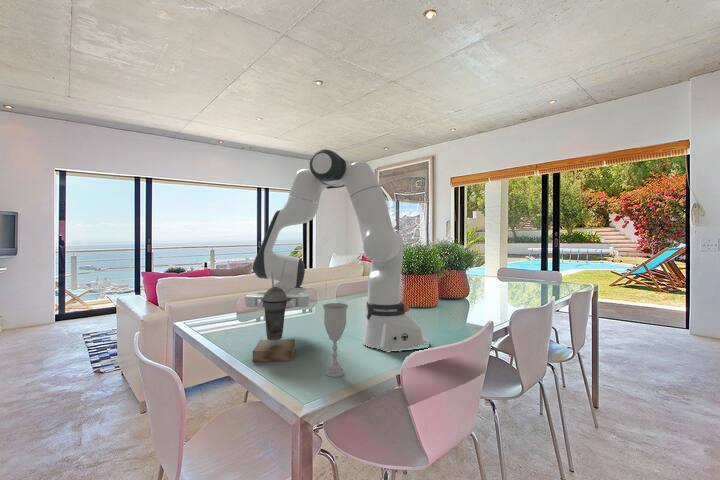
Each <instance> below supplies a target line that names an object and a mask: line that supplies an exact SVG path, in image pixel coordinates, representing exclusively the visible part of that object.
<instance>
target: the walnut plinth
mask: <svg viewBox="0 0 720 480" xmlns="http://www.w3.org/2000/svg"><path fill="white" fill-rule="evenodd" d="M295 349H296V339H295V338H286V339H284V338H281V339H279V340H268V339H259V341H258V343H257V344H256V345H255V347H254V348H253V349H252V362H291V361H292V360H293V356H294V352H295Z"/></svg>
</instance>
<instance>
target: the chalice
mask: <svg viewBox="0 0 720 480" xmlns="http://www.w3.org/2000/svg"><path fill="white" fill-rule="evenodd" d="M322 307H323V311H324V317H323V318H324V320H323V321H324V322H323V323H324V328H325V330H326V333H327V335H328V338H329V340H330V341H332V344H333V345H332V347H331V348H332V351H333V352H332V353H331V356H332V361H331V362H330V363H329V364H328V365H327V367H326V370H325V372H324V374H325V375H326V376H328V377H331V378H332V377H341V376H343V375H344V374H345V372H344V369H343V367H342V365H341V363H339V362H338V360H337V357H338V356H339V354H338V352H337V350H338V348H339V347H338V345H337V343H338V341H339V340H341V338H342V336H343V334H344V332H345V328H346V326H347V309H348V307H349V305H348V304H347V303H341V302H330V303H325V304H322Z"/></svg>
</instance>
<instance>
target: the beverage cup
mask: <svg viewBox="0 0 720 480" xmlns="http://www.w3.org/2000/svg"><path fill="white" fill-rule="evenodd" d="M271 278H272V279H271V284H272V285H271V287H270V288H269V289H267V290H266V291H265V292H264V293H265V295H264V298H263V304H264V307H263V308H264V319H265V320H264V321H265V332H266V334H265V335H266V340H279V339H283V334H284V326H285V325H284V324H285V323H284V322H285V314H286V309H285V307H286V302H287V297H286V294H285V292H284V291H283V290H282V289H281V288H279V287H274V285H275V280H273V273H271Z"/></svg>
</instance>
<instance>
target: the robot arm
mask: <svg viewBox="0 0 720 480" xmlns="http://www.w3.org/2000/svg"><path fill="white" fill-rule="evenodd" d="M344 187H345V189H346V190H347V193H348V196H349V199H350V201H351V203H352V207H353V209H354V212H355V215H356V218H357V221H358V226H359V232H360V235H361V241H362V244H363V245H362V247H363V252H364V254H365V255H366V257H367V258H368V259H370V260H371V264H370V270H369V276H368V278H367V301H366V306H365V312H366V313H365V317H366V325H365V332H364V336H363V340H362V344H363V345H364V346H365V345H366V346H365V347H367V346H368V347H367V348H369V347H371V348H370V349H373V348H377V349H376V350H378V349H381V350H384V351H392V350H400V349H408V348H414V347H419V346H420V345H429V344H430V341H429V340H428V339H427V338H426V337H424V335H423V331H422V327H421V325H420V324H419V323H418V322H417V321H416V320H415V319H414V318H412V317H411V315H408V314H407V313H408V312H410V306H409V305H408V304H406V303H403V302H401V285H402V283H401V279H402V270H403V261H404V245H405V244H404V239H403V237H402V236H401V235H400V233H398V232H397V231H395V229H394V227H393V223H392V220H391V215H390V211H389V207H388V204H387V201H386V198H385V197H384V194H383V190H382V188H381V185H380V183H379V181H378V178H377V176H376V174H375V172H374V171H373V169H372V167H371V166H370V164H369V163H367V162H365V161H362V160H361V161H359V160H357V161H355V162H353V163H349V162H348V161H346V159H344V158H343V156H341V155H340V154H338V153H336V152H335V151H333V150H330V149H325V148H324V149H319V150H317V151H315V152H314V153H313V154H312V156H311V158H310V159H309V168H301V169H300V170H298V171H297V172H296V173H295V176H294V178H293V181H292V184H291V187H290V190H289V195H288V198H287V201H286V203H285V204H284V206H283V207H281V208H278V209H277V210H276V211H275V213H274V214H273V216H272V219H271V220H270V223H269V225H268V228H267V230H266V232H265V235H264V238H263V241H262V243H261V245H260V248H259V249H258V252H257V254H256V256H255V257H254V259H253V262H252V271H253V273H254V274H255V276H257V278H258V279H264V280H272V278H271V273H273V281H277V282H276V283H274V287H279V288H281V289H282V290H283V291H284V292H285V294H286V297H287V302H286V307H285V310H288V309H293V308H295V309H296V308H309V307H310V293H309V292H308V291H307V288H306V287H303V286H302V284H303V281H304V279H305V272H306V267H305V263H304V261H303V259H302V258H301V257H296V256H292V255H286V254H281V253H276V252H274V251H273V248H274V246H275V244H276V242H277V239H278V236H279V233H280V232H281V231H282V230H283V229H284V228H286V227H291V226H295V225H296V226H297V225H303V224H307V223H308V222H310V221H312V220H313V219H314V218H315V216H316V215H317V211H318V209H319V204H320V201H321V196H322V192H323V191H324V189H327V190H330V189H339V188H344ZM265 293H266V292H250V293H249V294H247V295H245V297H244V305H245V307H246V308H257V309H258V308H260V309H261V308H264V304H263V298H264V295H265ZM424 343H429V344H424ZM418 345H419V346H418ZM413 346H414V347H413ZM381 350H380V351H381Z"/></svg>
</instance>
